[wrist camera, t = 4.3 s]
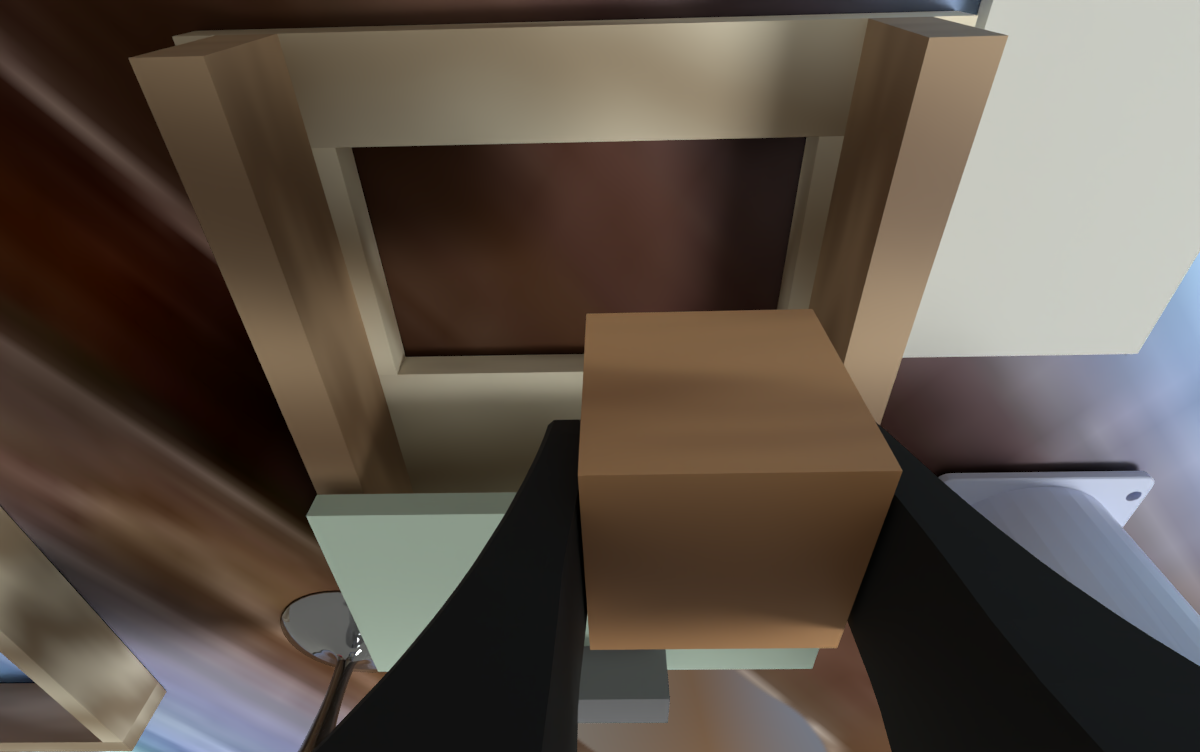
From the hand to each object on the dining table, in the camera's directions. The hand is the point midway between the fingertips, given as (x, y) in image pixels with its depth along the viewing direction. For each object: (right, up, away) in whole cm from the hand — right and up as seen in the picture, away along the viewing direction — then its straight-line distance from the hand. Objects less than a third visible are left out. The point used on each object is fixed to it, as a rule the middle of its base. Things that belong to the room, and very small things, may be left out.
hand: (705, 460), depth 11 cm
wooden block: (0, +1, +1) cm, 2 cm away
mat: (+11, +6, +6) cm, 14 cm away
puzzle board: (-2, +2, +10) cm, 10 cm away
